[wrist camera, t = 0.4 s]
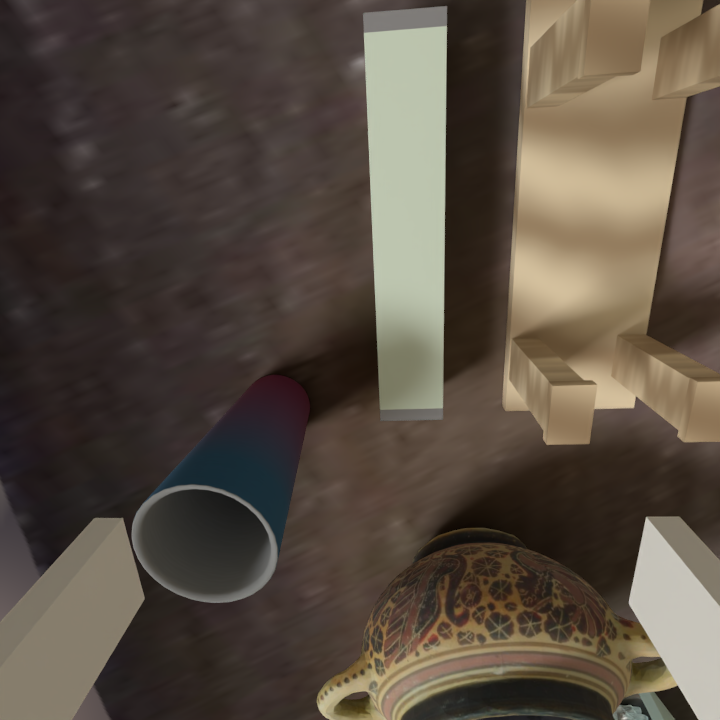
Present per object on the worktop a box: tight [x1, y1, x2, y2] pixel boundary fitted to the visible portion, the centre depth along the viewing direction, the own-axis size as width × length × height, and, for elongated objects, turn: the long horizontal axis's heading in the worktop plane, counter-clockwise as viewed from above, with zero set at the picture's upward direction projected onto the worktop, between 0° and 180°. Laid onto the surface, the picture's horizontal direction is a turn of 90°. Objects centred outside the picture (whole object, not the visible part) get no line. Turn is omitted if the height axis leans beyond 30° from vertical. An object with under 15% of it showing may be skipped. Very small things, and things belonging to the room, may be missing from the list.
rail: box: [363, 6, 447, 421], centre depth 28 cm, size 22×4×5 cm, turn 3°
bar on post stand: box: [502, 0, 720, 445], centre depth 25 cm, size 25×9×10 cm, turn 3°
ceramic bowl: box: [317, 528, 678, 720], centre depth 32 cm, size 24×18×15 cm
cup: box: [132, 375, 310, 603], centre depth 28 cm, size 7×7×15 cm
